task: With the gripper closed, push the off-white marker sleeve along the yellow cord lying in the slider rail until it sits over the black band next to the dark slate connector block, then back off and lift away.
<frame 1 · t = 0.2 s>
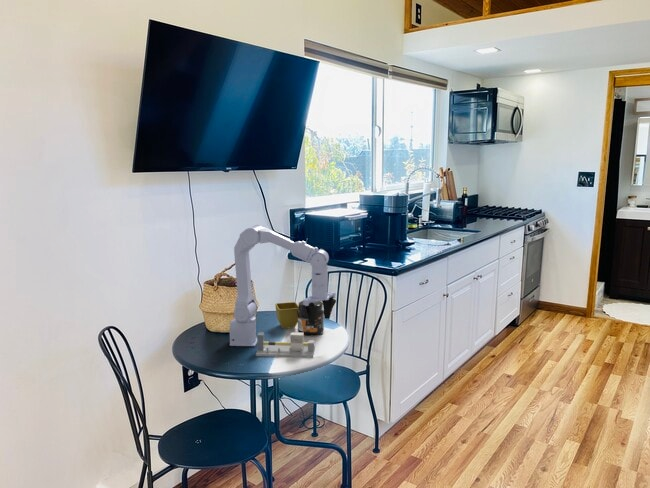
hand: (319, 320, 177), 10 cm above the table, tool pointing down, fingers open, 7 cm apart
slider rail: (286, 351, 175), on the table
supplement container: (310, 332, 195), on the table
flower pot: (287, 327, 202), on the table
sleeve: (297, 341, 174), point 4 cm above the table, slide at 4.0 cm
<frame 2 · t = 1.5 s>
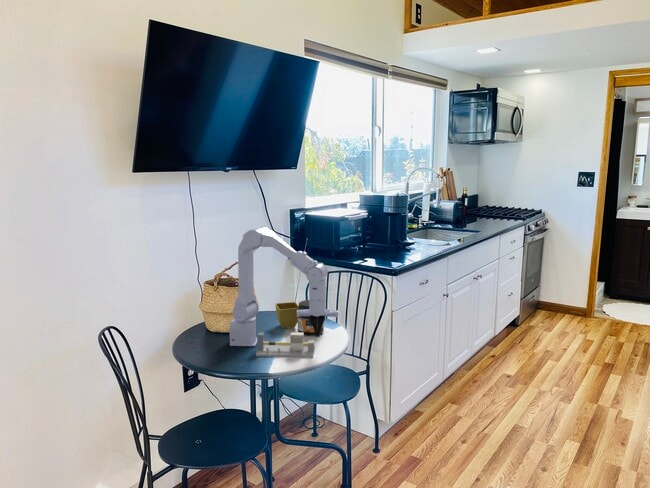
hand: (317, 336, 173), 6 cm above the table, tool pointing down, fingers closed
nothing on the table moved.
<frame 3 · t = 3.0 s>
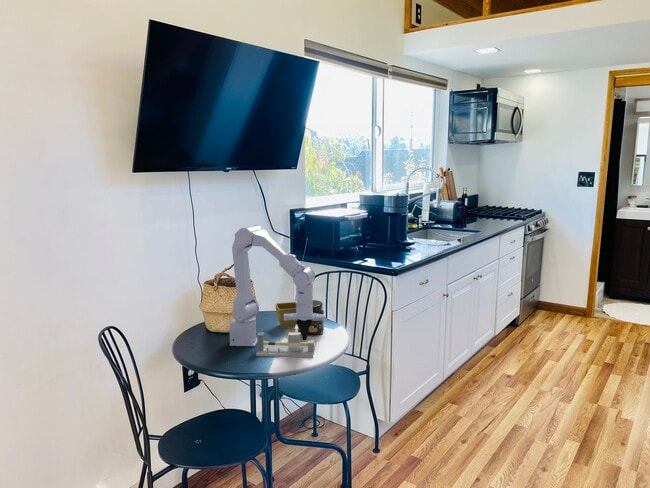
hand: (304, 339, 174), 5 cm above the table, tool pointing down, fingers closed
sleeve: (294, 341, 174), point 4 cm above the table, slide at 3.1 cm, touching gripper
everything else where it was.
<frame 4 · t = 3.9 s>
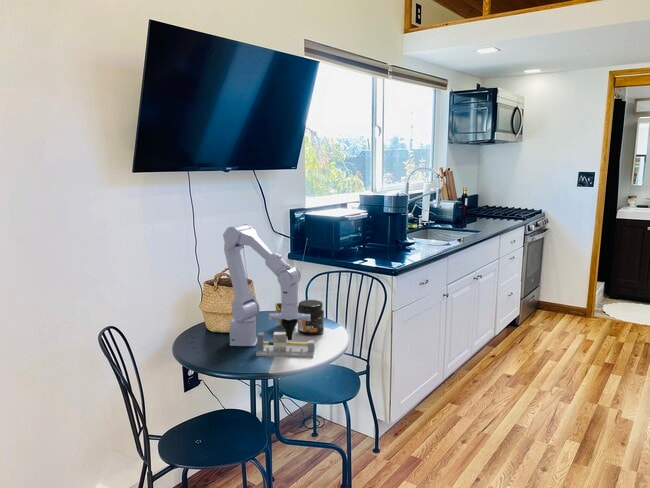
hand: (289, 339, 174), 5 cm above the table, tool pointing down, fingers closed
sleeve: (280, 341, 175), point 4 cm above the table, slide at -2.1 cm, touching gripper
everything else where it was.
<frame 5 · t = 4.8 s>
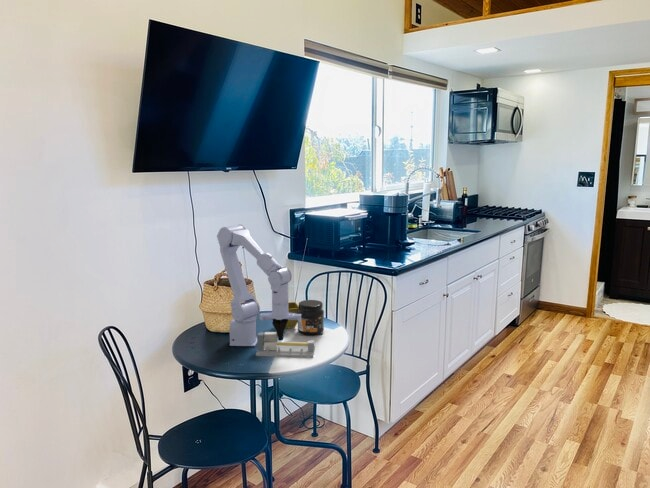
hand: (280, 339, 174), 5 cm above the table, tool pointing down, fingers closed
sleeve: (271, 340, 175), point 4 cm above the table, slide at -5.4 cm, touching gripper
everything else where it was.
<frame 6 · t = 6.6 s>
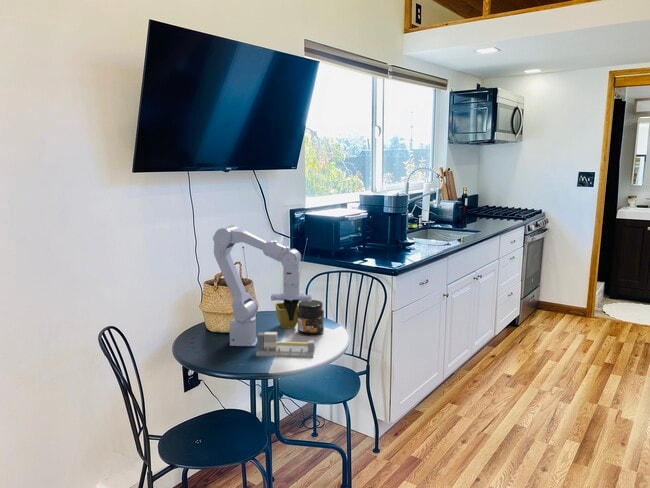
hand: (291, 319, 178), 10 cm above the table, tool pointing down, fingers closed
sleeve: (270, 340, 175), point 4 cm above the table, slide at -5.5 cm
everything else where it was.
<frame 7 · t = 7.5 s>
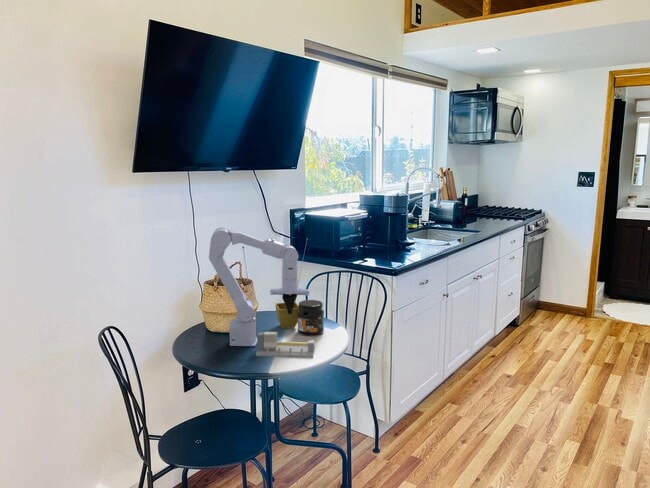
hand: (290, 313, 185), 10 cm above the table, tool pointing down, fingers closed
nothing on the table moved.
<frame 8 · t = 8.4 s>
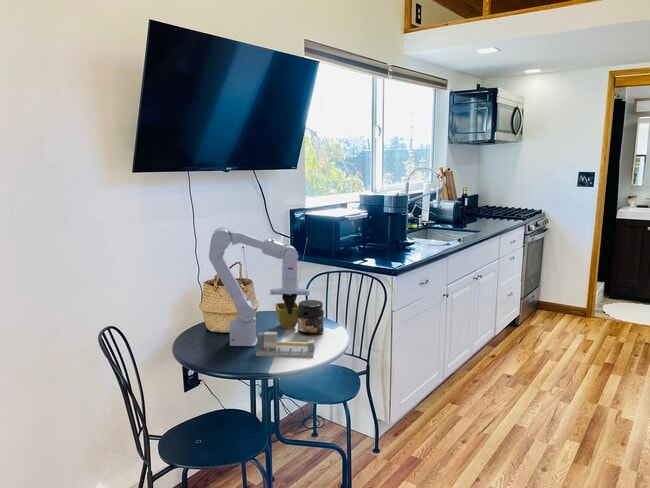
hand: (290, 313, 185), 10 cm above the table, tool pointing down, fingers closed
nothing on the table moved.
at the end: sleeve slide at -5.5 cm; the gripper is holding nothing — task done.
